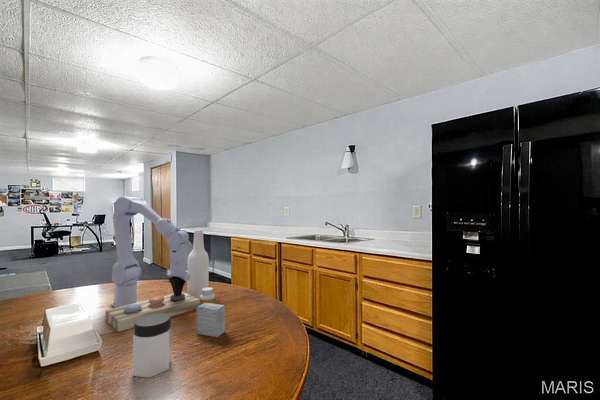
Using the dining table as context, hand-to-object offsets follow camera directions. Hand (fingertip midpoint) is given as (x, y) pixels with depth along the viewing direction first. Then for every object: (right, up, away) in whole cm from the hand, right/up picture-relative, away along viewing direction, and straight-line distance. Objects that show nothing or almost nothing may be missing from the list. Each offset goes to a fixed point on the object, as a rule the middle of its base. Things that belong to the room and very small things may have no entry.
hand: (177, 295), depth 110 cm
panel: (-6, -5, -6) cm, 10 cm away
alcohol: (+3, -6, +13) cm, 14 cm away
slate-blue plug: (-10, -4, -12) cm, 17 cm away
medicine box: (+20, -5, -21) cm, 30 cm away
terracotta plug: (-5, -4, -6) cm, 9 cm away
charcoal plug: (0, -5, 0) cm, 5 cm away
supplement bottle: (+14, -5, -7) cm, 16 cm away
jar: (+12, -4, -40) cm, 42 cm away
